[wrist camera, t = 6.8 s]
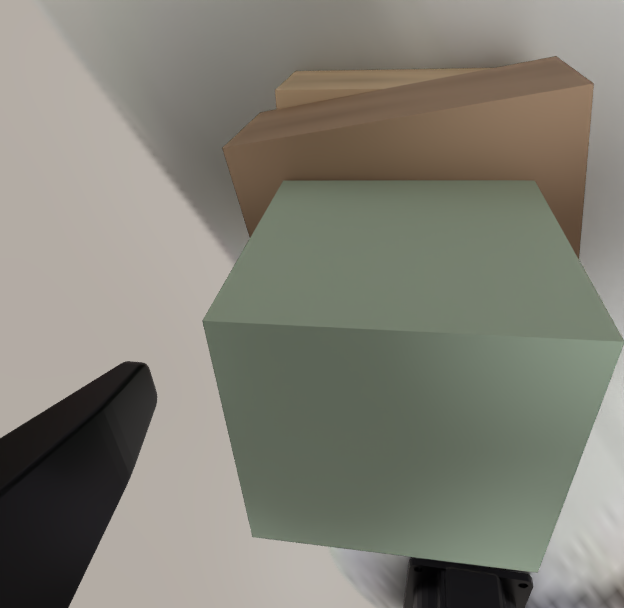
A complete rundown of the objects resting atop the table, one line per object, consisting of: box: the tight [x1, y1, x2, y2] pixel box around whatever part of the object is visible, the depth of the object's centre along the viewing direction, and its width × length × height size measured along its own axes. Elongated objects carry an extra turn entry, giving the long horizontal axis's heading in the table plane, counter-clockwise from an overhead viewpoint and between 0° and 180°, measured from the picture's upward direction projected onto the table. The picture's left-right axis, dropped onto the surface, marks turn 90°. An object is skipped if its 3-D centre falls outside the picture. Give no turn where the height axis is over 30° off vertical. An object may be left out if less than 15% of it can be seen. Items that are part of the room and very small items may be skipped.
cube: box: [203, 180, 624, 573], centre depth 9 cm, size 5×5×5 cm
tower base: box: [275, 68, 491, 109], centre depth 15 cm, size 7×7×3 cm
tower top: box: [222, 56, 594, 259], centre depth 12 cm, size 7×7×3 cm
